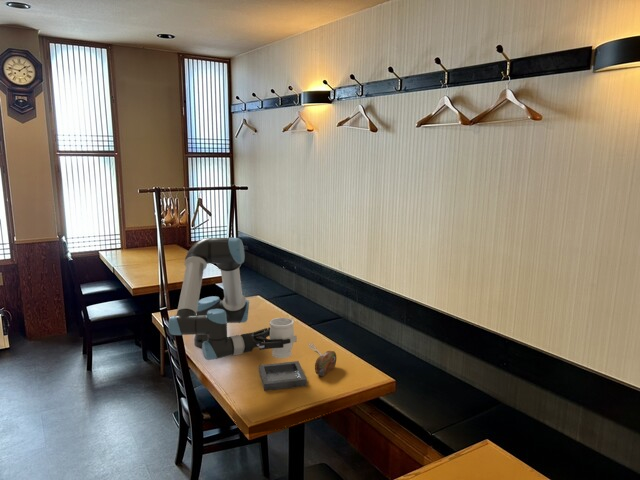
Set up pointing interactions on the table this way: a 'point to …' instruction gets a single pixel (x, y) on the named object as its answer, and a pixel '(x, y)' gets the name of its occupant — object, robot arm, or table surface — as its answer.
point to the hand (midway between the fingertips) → (290, 334)
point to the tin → (325, 363)
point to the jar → (281, 336)
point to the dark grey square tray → (282, 375)
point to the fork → (314, 348)
